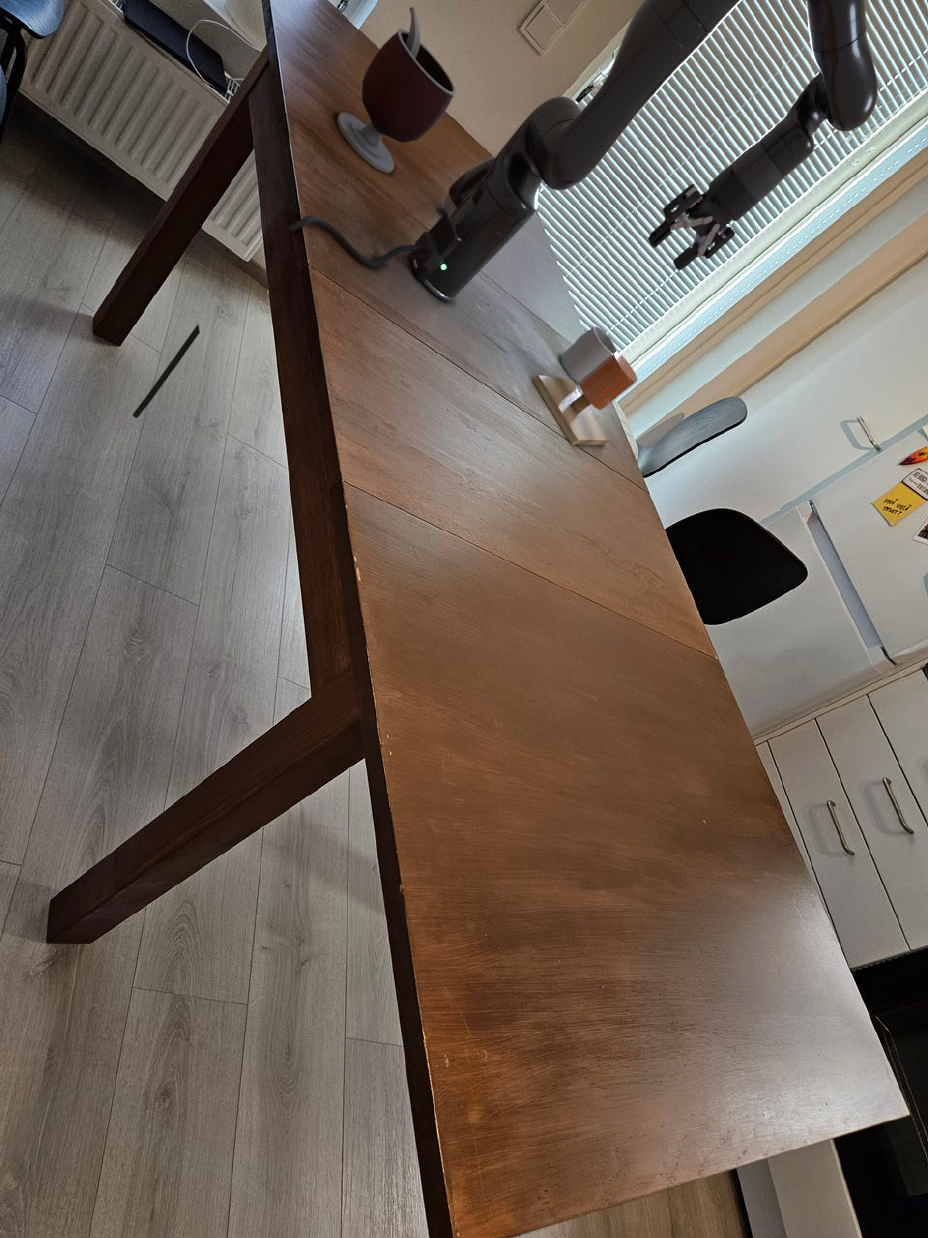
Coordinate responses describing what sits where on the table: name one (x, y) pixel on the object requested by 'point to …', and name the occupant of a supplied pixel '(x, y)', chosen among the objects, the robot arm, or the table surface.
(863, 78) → the robot arm
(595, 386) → the terracotta cup
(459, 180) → the pump dispenser
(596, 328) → the cup
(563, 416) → the cup stand
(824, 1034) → the table surface
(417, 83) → the mate gourd
